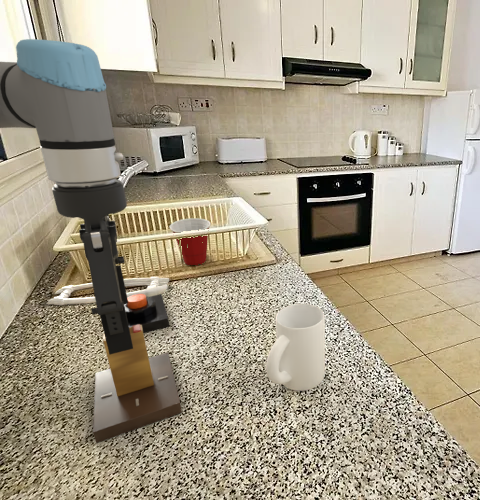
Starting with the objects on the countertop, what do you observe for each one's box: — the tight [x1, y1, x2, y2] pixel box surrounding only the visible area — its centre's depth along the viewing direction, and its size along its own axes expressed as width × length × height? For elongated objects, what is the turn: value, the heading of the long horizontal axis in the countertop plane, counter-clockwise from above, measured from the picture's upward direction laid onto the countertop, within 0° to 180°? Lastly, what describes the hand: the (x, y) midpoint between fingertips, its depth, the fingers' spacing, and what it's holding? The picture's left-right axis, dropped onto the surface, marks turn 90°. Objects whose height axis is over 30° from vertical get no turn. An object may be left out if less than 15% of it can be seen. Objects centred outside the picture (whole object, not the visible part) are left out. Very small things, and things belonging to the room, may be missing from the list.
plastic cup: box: [168, 217, 212, 266], centre depth 107 cm, size 11×11×12 cm
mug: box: [265, 303, 326, 392], centre depth 61 cm, size 8×12×12 cm
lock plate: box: [92, 352, 183, 444], centre depth 59 cm, size 14×11×2 cm
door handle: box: [46, 276, 170, 306], centre depth 89 cm, size 3×10×25 cm
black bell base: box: [124, 293, 171, 334], centre depth 80 cm, size 12×10×4 cm
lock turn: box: [102, 324, 154, 396], centre depth 57 cm, size 5×2×10 cm, turn 121°
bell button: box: [127, 294, 147, 309], centre depth 79 cm, size 4×4×2 cm
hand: (119, 325), depth 55 cm, fingers open, 13 cm apart
